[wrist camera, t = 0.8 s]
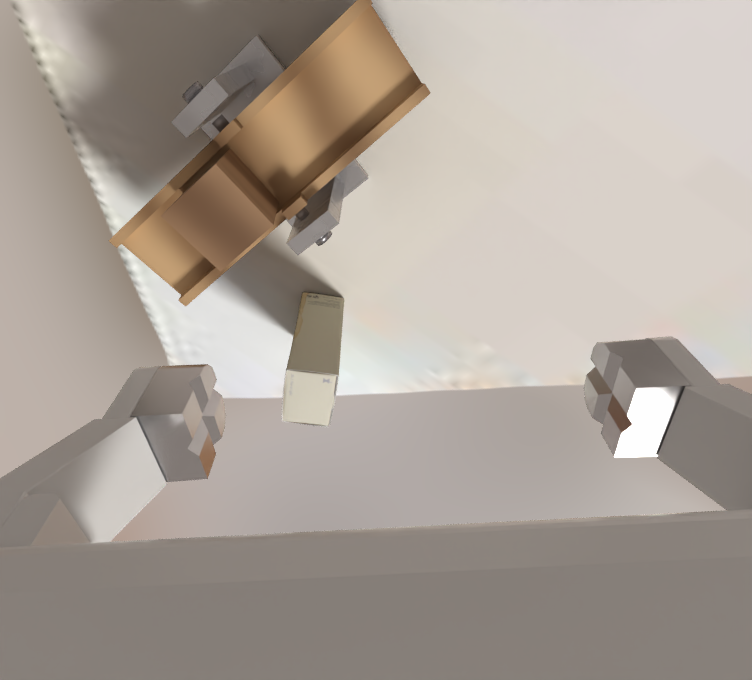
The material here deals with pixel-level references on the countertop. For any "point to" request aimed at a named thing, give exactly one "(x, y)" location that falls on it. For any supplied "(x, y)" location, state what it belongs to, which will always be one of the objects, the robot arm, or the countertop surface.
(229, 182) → the block
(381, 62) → the beam
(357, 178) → the pivot stand
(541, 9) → the countertop surface
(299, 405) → the skincare box
